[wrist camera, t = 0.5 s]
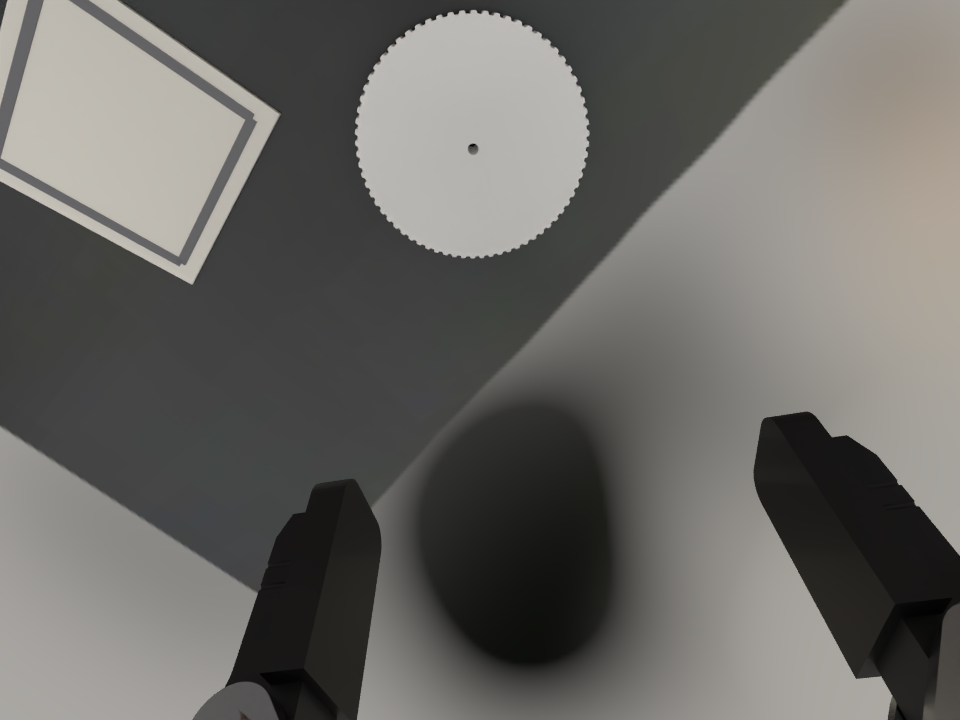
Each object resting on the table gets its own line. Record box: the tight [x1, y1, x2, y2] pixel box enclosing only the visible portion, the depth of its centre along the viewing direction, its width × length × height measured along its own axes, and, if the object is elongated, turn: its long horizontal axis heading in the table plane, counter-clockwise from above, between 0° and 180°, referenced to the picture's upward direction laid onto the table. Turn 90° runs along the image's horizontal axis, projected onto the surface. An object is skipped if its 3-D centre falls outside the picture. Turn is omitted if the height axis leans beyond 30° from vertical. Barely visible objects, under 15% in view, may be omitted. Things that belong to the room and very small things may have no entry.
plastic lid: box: [355, 10, 589, 258], centre depth 33 cm, size 14×14×2 cm
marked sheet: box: [0, 0, 281, 284], centre depth 33 cm, size 14×14×1 cm
